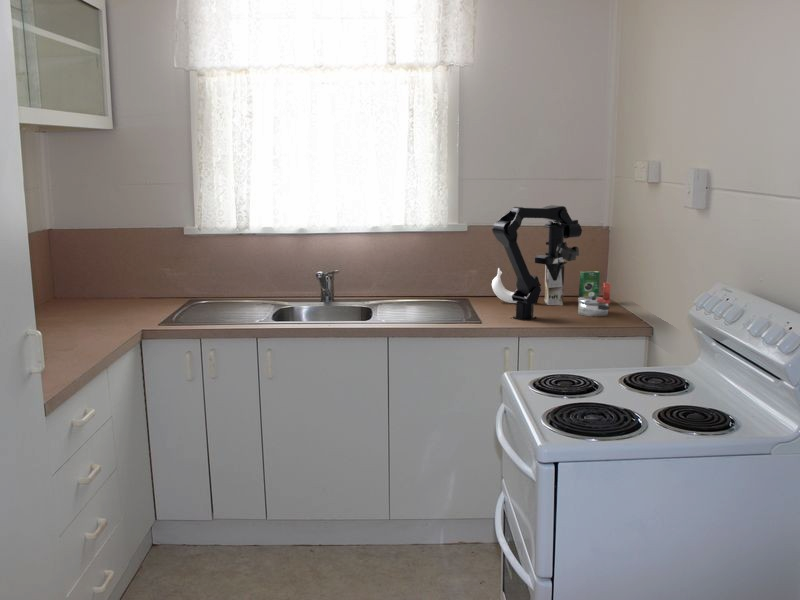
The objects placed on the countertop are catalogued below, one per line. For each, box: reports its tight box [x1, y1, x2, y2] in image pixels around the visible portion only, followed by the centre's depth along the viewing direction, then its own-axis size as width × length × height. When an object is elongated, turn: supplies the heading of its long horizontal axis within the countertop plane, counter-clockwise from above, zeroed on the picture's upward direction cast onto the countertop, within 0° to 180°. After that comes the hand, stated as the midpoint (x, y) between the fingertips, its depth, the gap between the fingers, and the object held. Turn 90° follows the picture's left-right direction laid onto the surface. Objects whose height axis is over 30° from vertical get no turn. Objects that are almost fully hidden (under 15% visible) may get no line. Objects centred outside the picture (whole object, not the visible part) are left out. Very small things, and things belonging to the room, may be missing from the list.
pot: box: [577, 302, 610, 318], centre depth 310 cm, size 16×11×4 cm
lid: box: [577, 282, 611, 305], centre depth 307 cm, size 15×12×8 cm
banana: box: [491, 267, 526, 304], centre depth 330 cm, size 5×19×15 cm, turn 83°
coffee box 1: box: [544, 264, 566, 306], centre depth 330 cm, size 9×6×16 cm
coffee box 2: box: [578, 270, 601, 298], centre depth 330 cm, size 8×3×13 cm, turn 109°
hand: (554, 280), depth 307 cm, fingers closed
